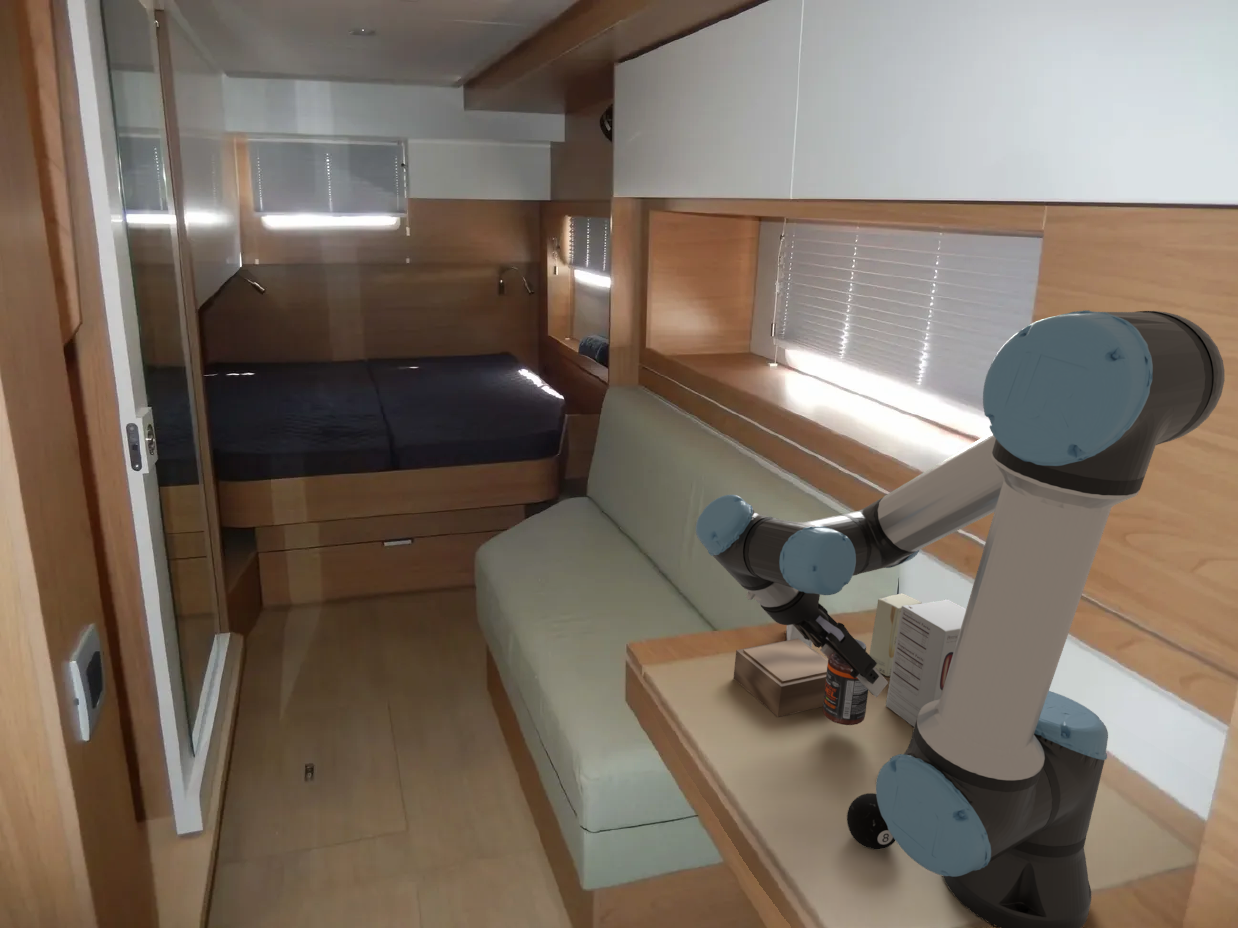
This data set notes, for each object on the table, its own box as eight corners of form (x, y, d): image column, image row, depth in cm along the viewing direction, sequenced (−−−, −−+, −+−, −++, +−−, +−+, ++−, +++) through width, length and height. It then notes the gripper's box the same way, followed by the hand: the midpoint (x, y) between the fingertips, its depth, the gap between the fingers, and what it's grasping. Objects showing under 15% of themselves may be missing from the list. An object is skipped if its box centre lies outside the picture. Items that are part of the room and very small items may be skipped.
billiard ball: (858, 862, 102) (865, 817, 101) (836, 827, 108) (842, 785, 106) (906, 857, 103) (913, 813, 102) (881, 823, 109) (888, 781, 107)
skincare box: (886, 677, 145) (897, 608, 142) (866, 666, 148) (876, 598, 145) (912, 668, 148) (923, 601, 145) (892, 657, 152) (902, 591, 148)
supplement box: (926, 738, 128) (944, 631, 124) (883, 706, 136) (898, 604, 132) (976, 726, 132) (995, 622, 127) (931, 695, 140) (948, 596, 136)
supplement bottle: (814, 708, 129) (821, 636, 126) (849, 703, 131) (858, 632, 128) (836, 729, 123) (844, 654, 121) (873, 724, 125) (882, 650, 123)
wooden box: (842, 701, 137) (846, 670, 135) (777, 716, 131) (781, 684, 130) (794, 665, 147) (798, 636, 146) (733, 678, 142) (736, 648, 140)
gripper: (723, 581, 124) (806, 668, 135) (807, 637, 107) (894, 731, 118) (758, 541, 125) (838, 631, 136) (846, 590, 108) (929, 688, 119)
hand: (864, 677), depth 127 cm, fingers closed on supplement bottle, 6 cm apart
